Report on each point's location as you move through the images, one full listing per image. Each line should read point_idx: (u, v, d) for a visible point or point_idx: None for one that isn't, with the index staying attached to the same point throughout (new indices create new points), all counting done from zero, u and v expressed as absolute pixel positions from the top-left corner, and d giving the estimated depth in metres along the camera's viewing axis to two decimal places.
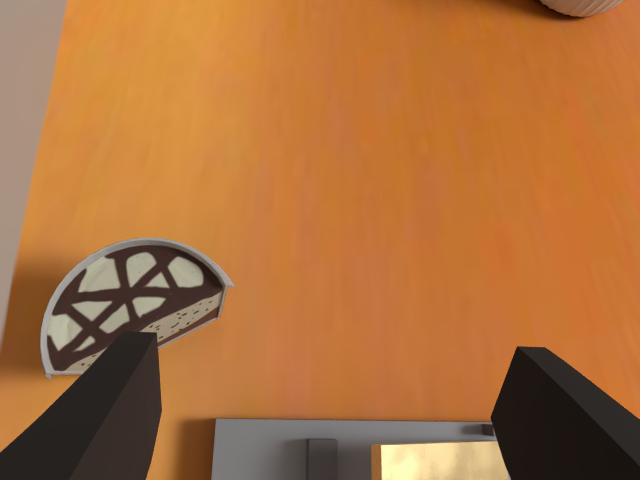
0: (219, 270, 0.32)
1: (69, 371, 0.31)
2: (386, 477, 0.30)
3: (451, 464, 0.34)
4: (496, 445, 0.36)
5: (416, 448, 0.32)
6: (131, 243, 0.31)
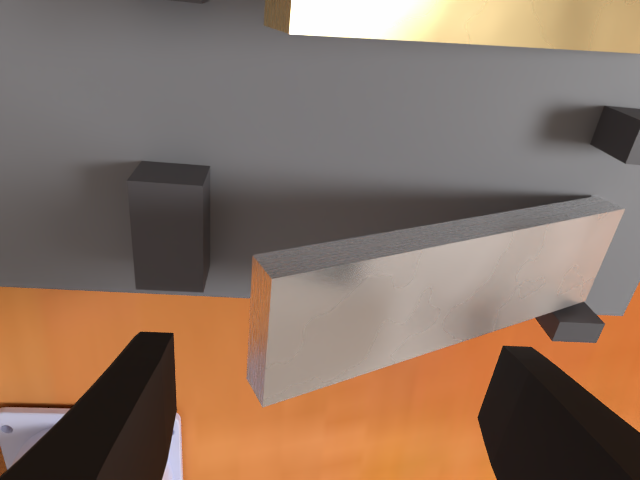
0: None
1: None
2: None
3: None
4: None
5: None
6: None
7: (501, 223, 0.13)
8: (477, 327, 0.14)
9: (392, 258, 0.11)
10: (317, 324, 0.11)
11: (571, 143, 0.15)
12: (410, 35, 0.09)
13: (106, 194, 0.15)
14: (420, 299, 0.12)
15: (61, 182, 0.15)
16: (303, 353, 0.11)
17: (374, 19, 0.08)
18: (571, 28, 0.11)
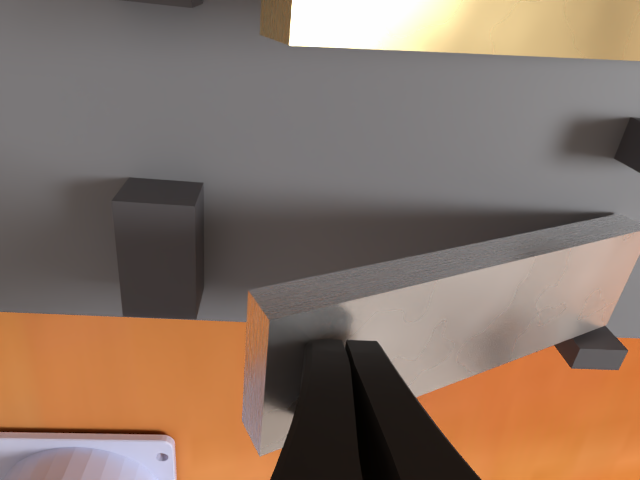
0: None
1: None
2: None
3: None
4: None
5: None
6: None
7: (520, 247, 0.12)
8: (493, 358, 0.13)
9: (404, 291, 0.10)
10: None
11: (594, 157, 0.14)
12: (428, 45, 0.08)
13: (91, 212, 0.14)
14: (434, 333, 0.11)
15: (42, 200, 0.14)
16: None
17: (387, 27, 0.07)
18: (605, 35, 0.09)
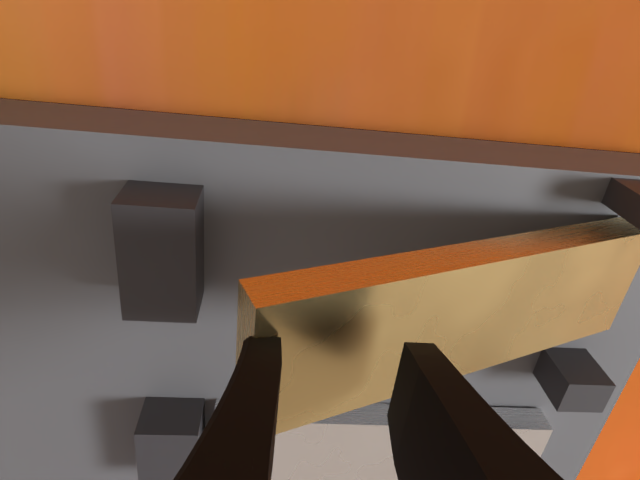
0: None
1: None
2: None
3: (491, 307, 0.12)
4: (629, 244, 0.14)
5: (391, 292, 0.10)
6: None
7: None
8: None
9: None
10: None
11: (516, 372, 0.18)
12: (345, 410, 0.11)
13: (115, 419, 0.17)
14: (331, 454, 0.18)
15: (76, 413, 0.17)
16: None
17: (315, 412, 0.11)
18: (488, 356, 0.13)
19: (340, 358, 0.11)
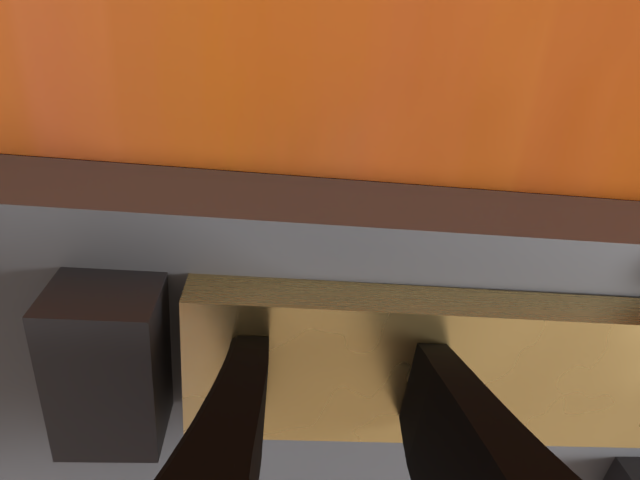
0: None
1: None
2: (200, 379, 0.10)
3: (488, 372, 0.10)
4: None
5: (341, 322, 0.09)
6: None
7: None
8: None
9: None
10: None
11: None
12: (295, 438, 0.11)
13: None
14: None
15: None
16: None
17: None
18: None
19: (282, 379, 0.10)
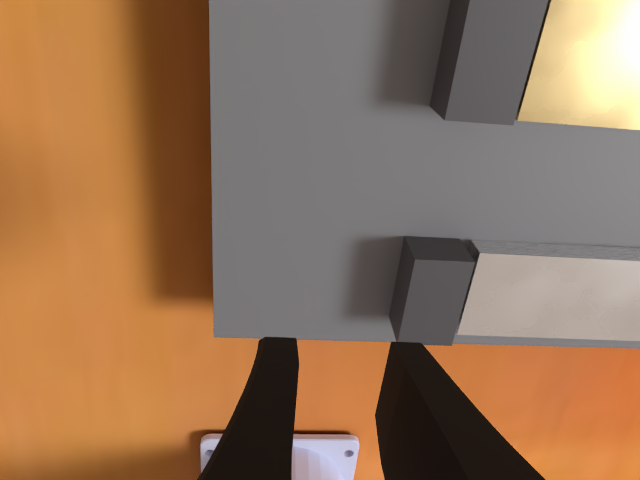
0: None
1: None
2: (546, 62, 0.14)
3: None
4: None
5: None
6: None
7: None
8: (630, 332, 0.19)
9: (563, 259, 0.17)
10: (502, 290, 0.17)
11: None
12: (594, 123, 0.15)
13: (368, 262, 0.18)
14: (582, 295, 0.18)
15: (334, 254, 0.17)
16: (490, 307, 0.18)
17: (570, 114, 0.15)
18: None
19: (602, 64, 0.14)
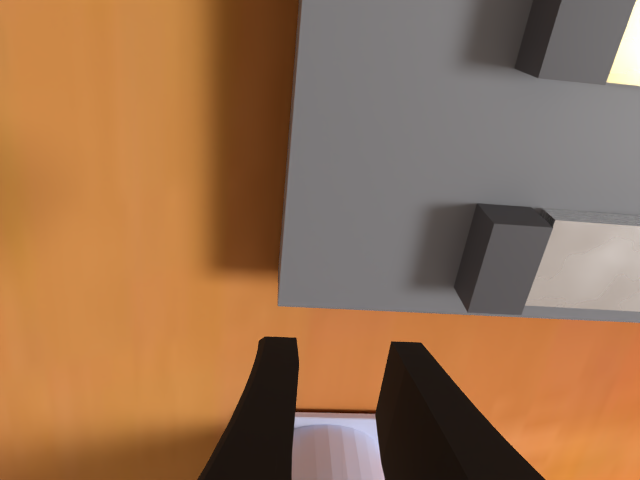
0: None
1: None
2: None
3: None
4: None
5: None
6: None
7: None
8: None
9: (637, 228, 0.17)
10: (573, 259, 0.17)
11: None
12: None
13: (438, 230, 0.18)
14: None
15: (405, 221, 0.17)
16: (559, 277, 0.18)
17: None
18: None
19: None
